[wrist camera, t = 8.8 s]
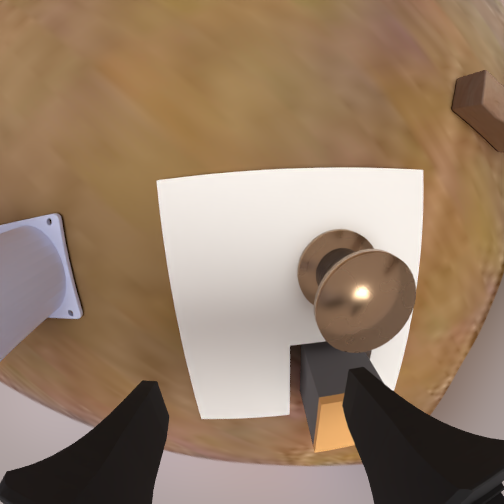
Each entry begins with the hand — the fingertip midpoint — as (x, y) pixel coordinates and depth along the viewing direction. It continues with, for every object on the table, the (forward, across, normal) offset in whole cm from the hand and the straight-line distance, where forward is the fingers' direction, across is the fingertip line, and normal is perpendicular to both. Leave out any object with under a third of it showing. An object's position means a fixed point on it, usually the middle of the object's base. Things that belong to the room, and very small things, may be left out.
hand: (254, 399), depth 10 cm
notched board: (+9, -3, +1) cm, 10 cm away
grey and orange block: (+9, -6, +6) cm, 13 cm away
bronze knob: (+8, -5, -2) cm, 10 cm away
